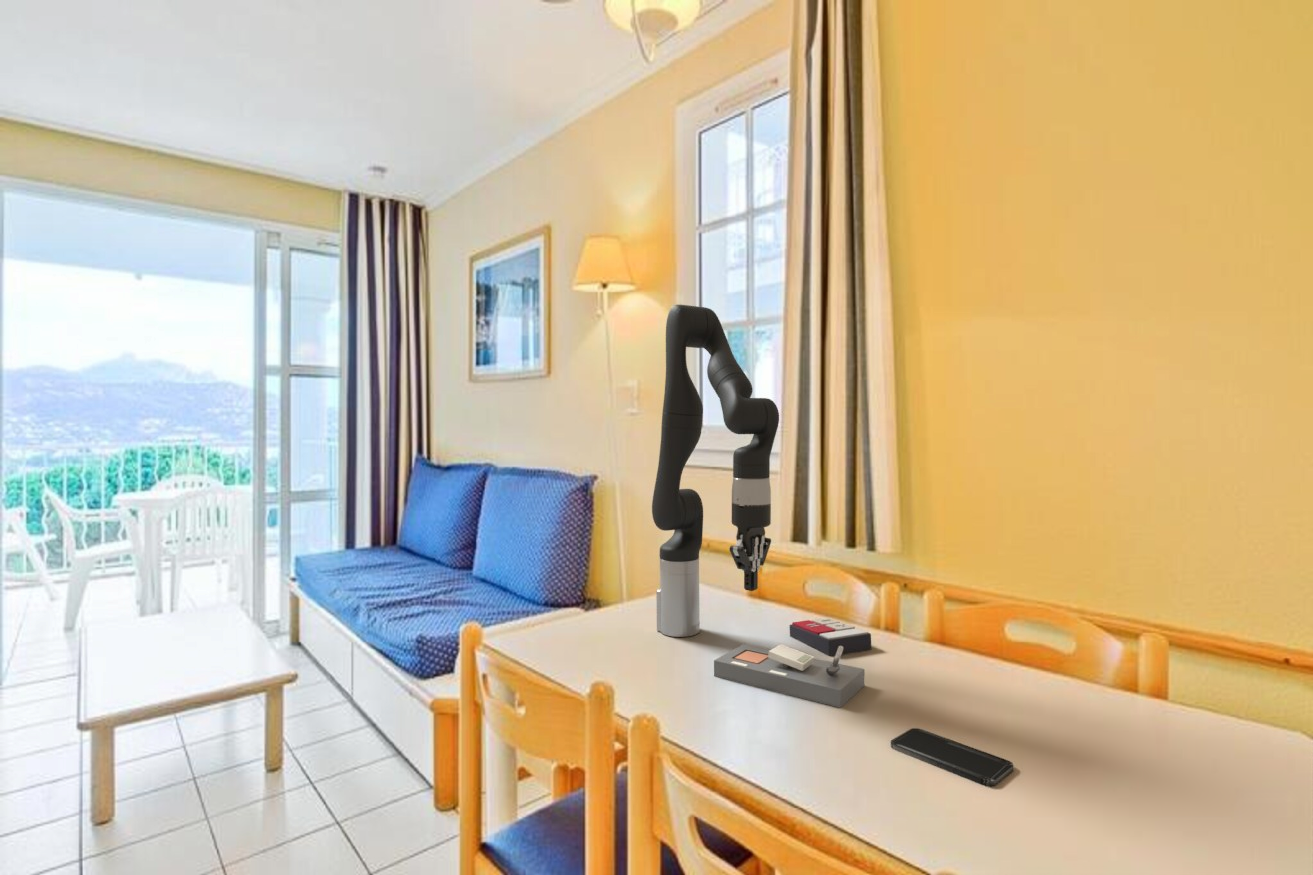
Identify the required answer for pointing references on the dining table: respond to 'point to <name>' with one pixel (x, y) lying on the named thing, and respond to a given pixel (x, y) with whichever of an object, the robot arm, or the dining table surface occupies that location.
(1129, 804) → the dining table surface
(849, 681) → the panel
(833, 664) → the toggle lever
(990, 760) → the phone
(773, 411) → the robot arm
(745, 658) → the push button
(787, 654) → the white slab
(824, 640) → the calculator
